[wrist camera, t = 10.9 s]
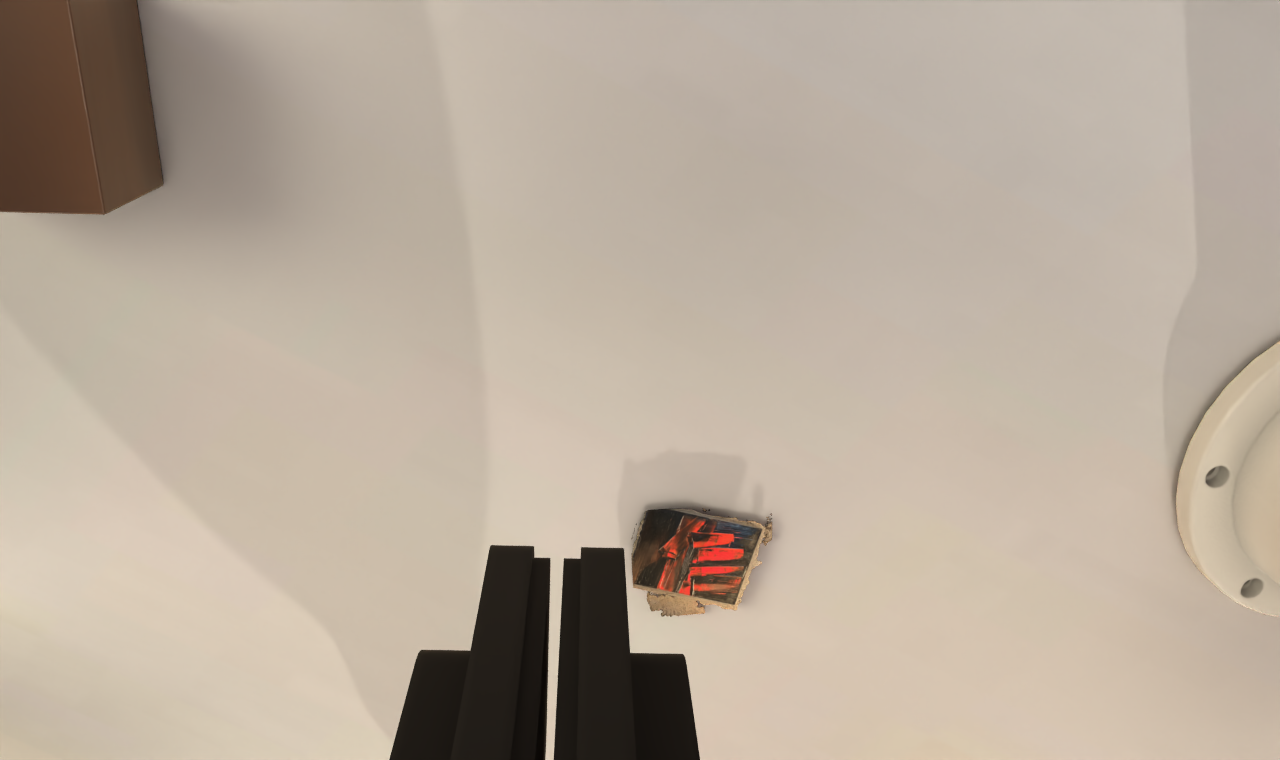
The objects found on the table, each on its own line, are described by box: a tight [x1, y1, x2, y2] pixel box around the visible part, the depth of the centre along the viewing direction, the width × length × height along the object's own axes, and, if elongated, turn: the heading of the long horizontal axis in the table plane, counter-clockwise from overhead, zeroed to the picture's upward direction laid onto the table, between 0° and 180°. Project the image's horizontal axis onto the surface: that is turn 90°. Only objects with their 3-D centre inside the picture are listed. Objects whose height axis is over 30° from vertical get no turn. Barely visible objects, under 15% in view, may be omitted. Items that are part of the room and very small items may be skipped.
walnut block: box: [0, 0, 163, 215], centre depth 25 cm, size 6×6×4 cm
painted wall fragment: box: [631, 508, 772, 617], centre depth 35 cm, size 5×5×1 cm
